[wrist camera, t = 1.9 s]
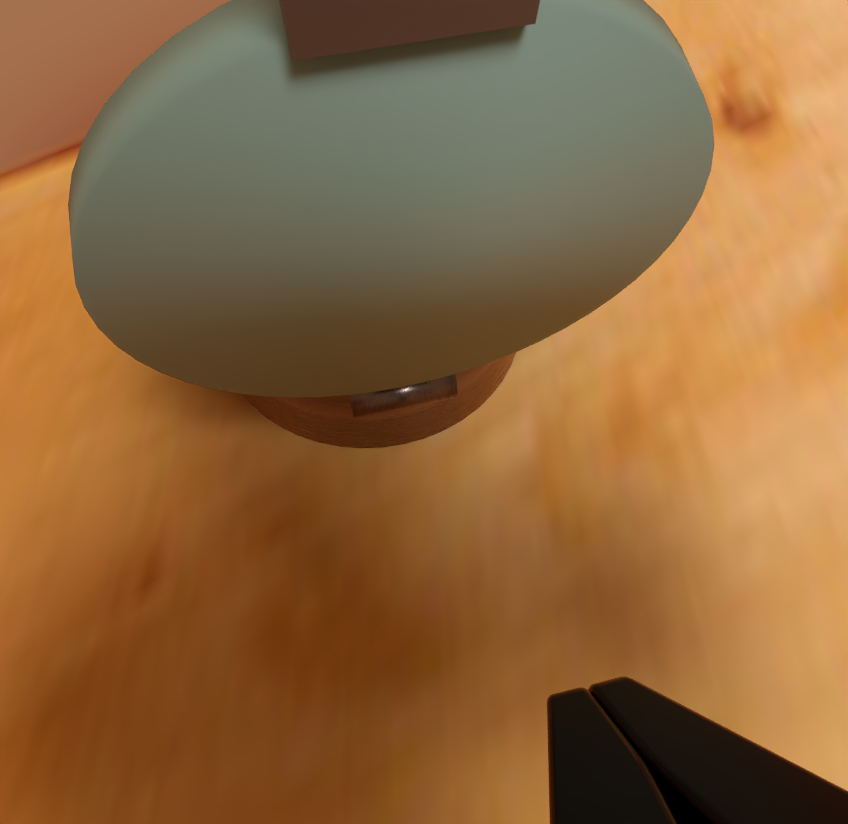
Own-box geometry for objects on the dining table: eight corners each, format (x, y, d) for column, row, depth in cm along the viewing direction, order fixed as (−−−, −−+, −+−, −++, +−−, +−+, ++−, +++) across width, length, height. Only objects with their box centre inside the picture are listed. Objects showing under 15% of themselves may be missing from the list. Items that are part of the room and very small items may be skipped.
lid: (600, 312, 20) (613, 350, 20) (181, 395, 19) (186, 438, 19) (1074, -567, 6) (1155, -495, 6) (-473, -467, 5) (-508, -363, 4)
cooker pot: (625, 420, 25) (666, 332, 20) (178, 517, 23) (120, 444, 19) (521, 180, 31) (536, 72, 26) (158, 244, 29) (111, 140, 25)
